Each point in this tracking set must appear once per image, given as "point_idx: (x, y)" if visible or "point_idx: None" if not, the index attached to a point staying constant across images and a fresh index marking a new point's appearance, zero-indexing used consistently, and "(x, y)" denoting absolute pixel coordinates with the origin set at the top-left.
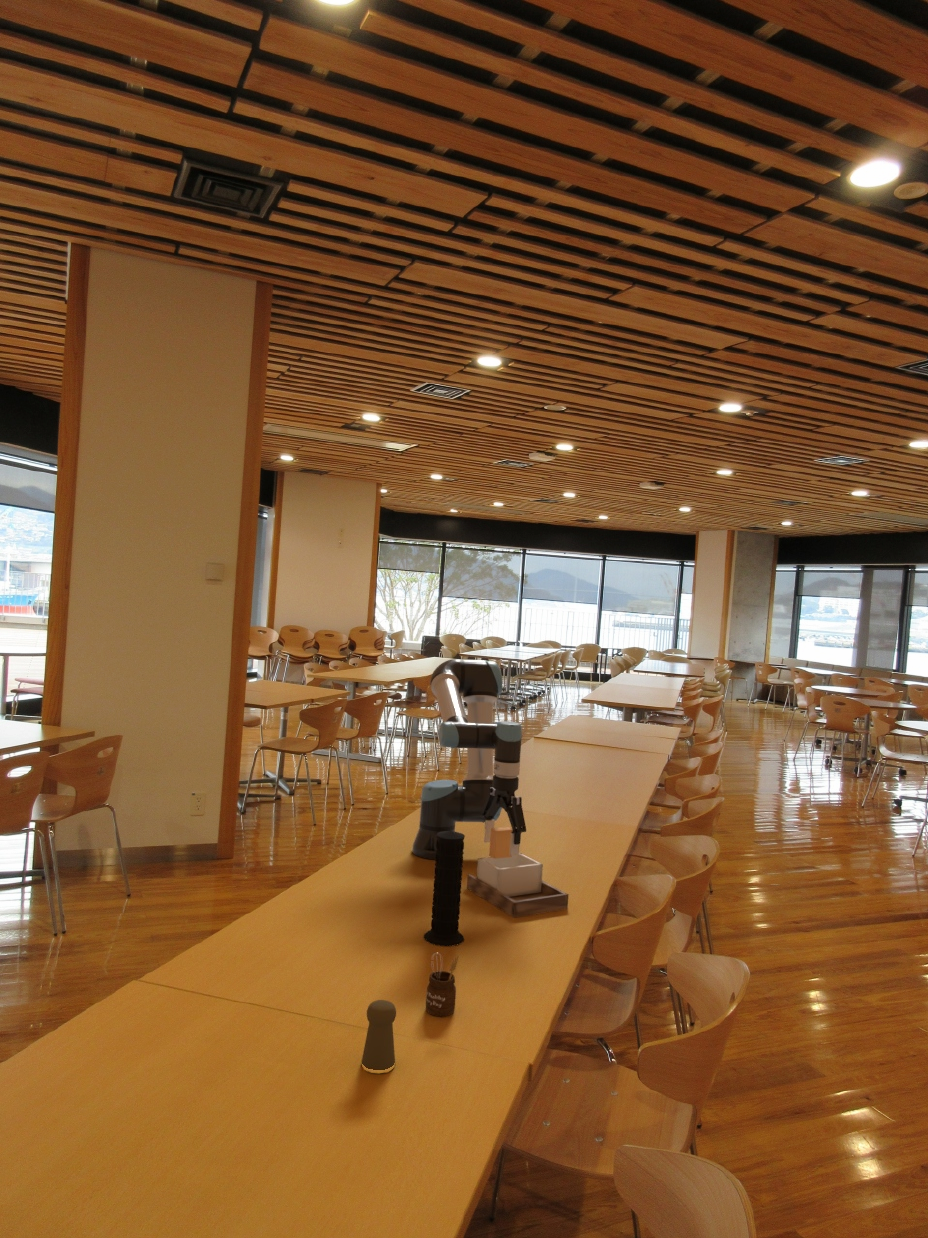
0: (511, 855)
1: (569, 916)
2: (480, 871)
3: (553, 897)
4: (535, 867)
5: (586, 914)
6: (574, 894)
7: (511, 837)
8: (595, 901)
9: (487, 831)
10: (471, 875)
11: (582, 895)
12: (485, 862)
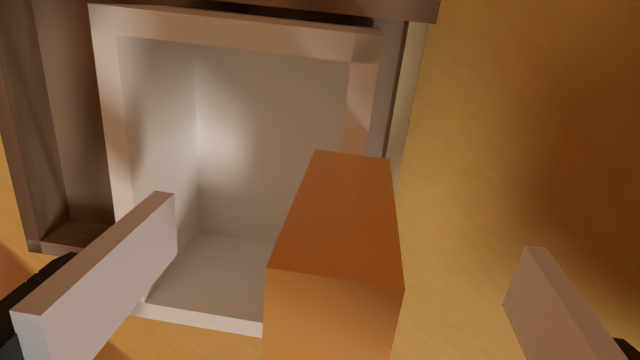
0: (152, 194)
1: (6, 180)
2: (339, 27)
3: (15, 182)
4: None
5: (15, 240)
6: (184, 333)
7: (68, 276)
8: (111, 338)
9: (561, 322)
10: (416, 15)
11: (169, 345)
12: (269, 24)
